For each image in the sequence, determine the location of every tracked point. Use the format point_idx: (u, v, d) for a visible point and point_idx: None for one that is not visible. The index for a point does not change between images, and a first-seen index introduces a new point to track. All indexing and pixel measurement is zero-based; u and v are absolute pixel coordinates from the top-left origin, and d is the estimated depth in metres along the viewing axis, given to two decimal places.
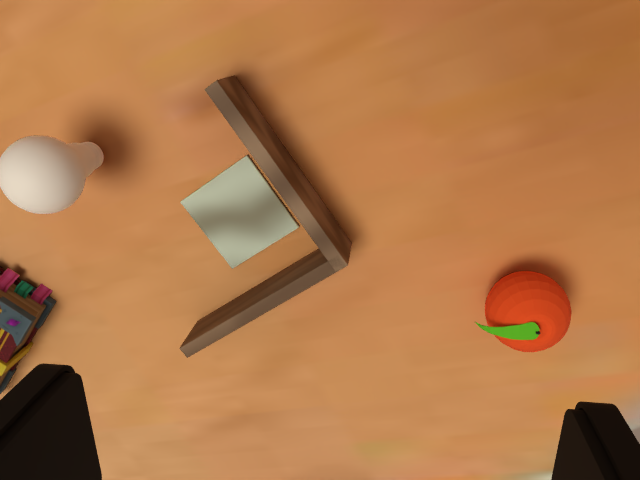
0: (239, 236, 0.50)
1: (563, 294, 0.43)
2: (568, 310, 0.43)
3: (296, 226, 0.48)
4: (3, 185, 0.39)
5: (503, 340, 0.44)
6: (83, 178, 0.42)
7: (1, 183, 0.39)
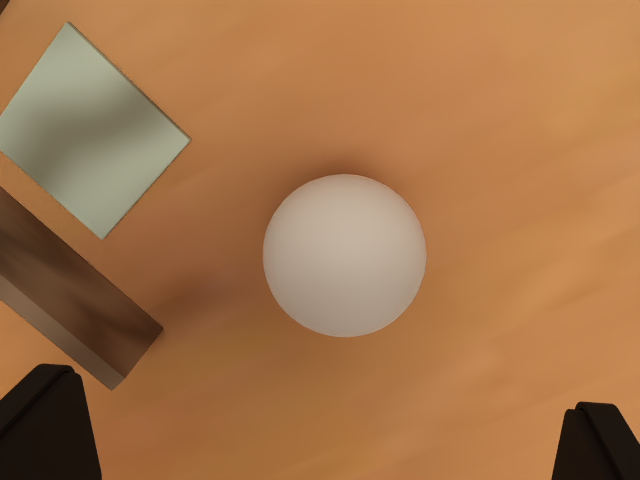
0: (72, 96, 0.27)
1: None
2: None
3: None
4: (379, 277, 0.17)
5: None
6: None
7: (386, 277, 0.17)
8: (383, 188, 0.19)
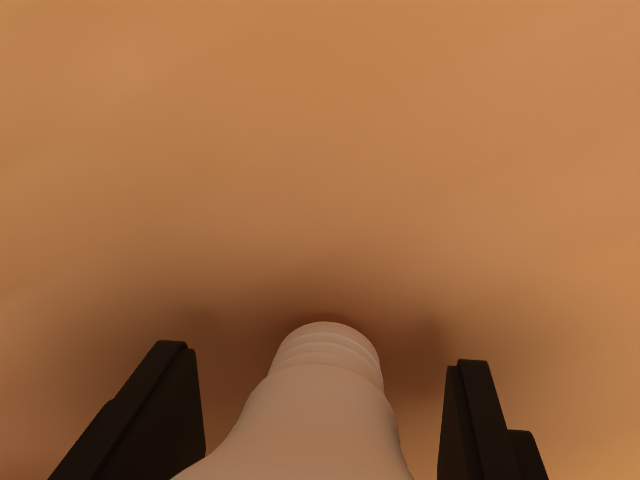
0: None
1: None
2: None
3: None
4: None
5: None
6: None
7: None
8: None
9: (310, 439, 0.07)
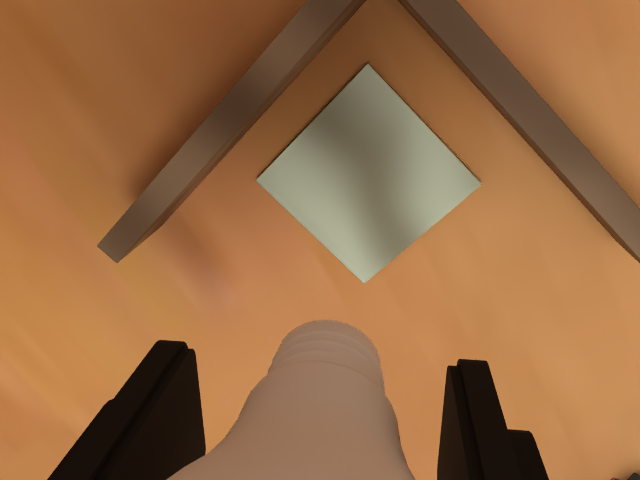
0: (409, 177, 0.26)
1: None
2: None
3: (367, 68, 0.24)
4: None
5: None
6: None
7: None
8: None
9: (310, 436, 0.07)
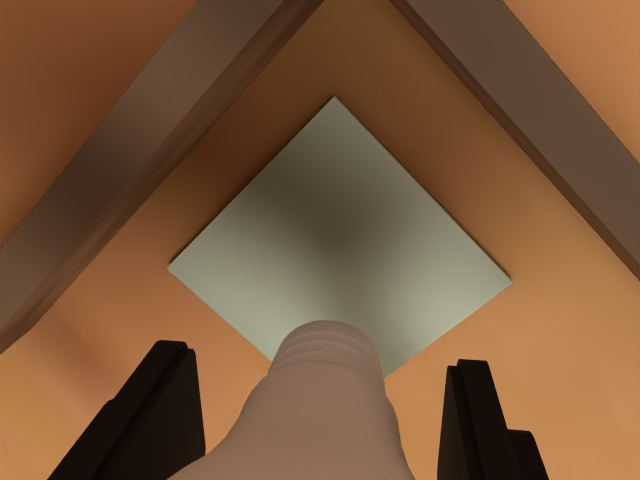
0: (401, 270, 0.17)
1: None
2: None
3: (334, 103, 0.15)
4: None
5: None
6: None
7: None
8: None
9: (310, 437, 0.07)
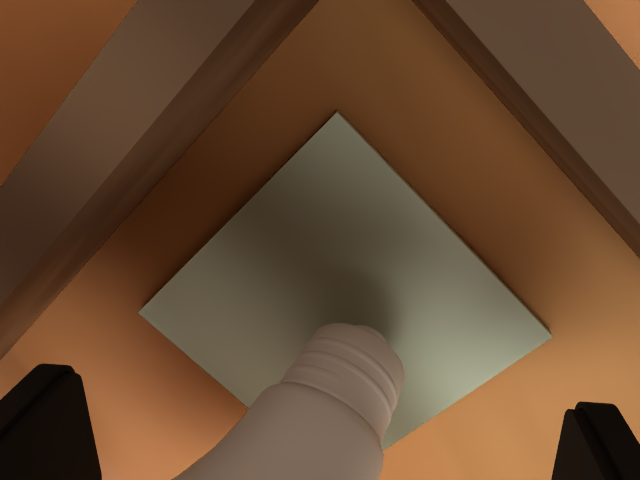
0: (417, 319, 0.14)
1: None
2: None
3: (337, 121, 0.12)
4: None
5: None
6: None
7: None
8: None
9: None
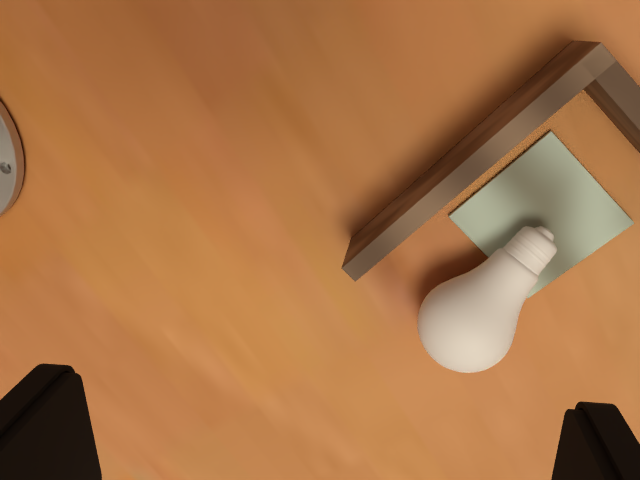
0: (575, 216, 0.33)
1: None
2: None
3: (550, 134, 0.32)
4: None
5: None
6: None
7: (454, 370, 0.34)
8: (462, 338, 0.31)
9: (478, 293, 0.32)
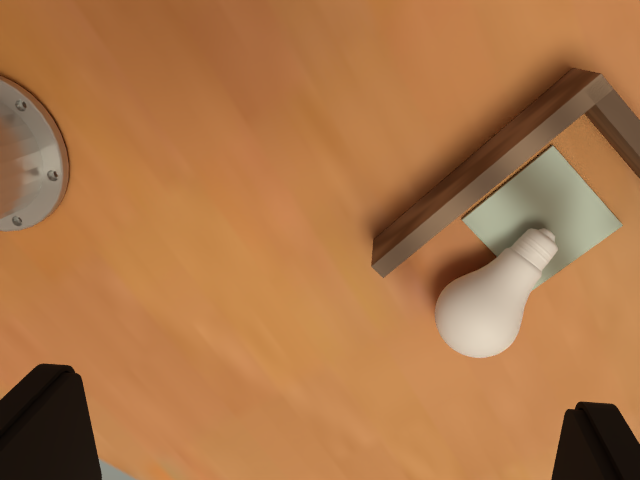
0: (572, 219, 0.38)
1: None
2: None
3: (552, 148, 0.36)
4: None
5: None
6: None
7: (469, 356, 0.38)
8: (478, 326, 0.36)
9: (491, 287, 0.36)
